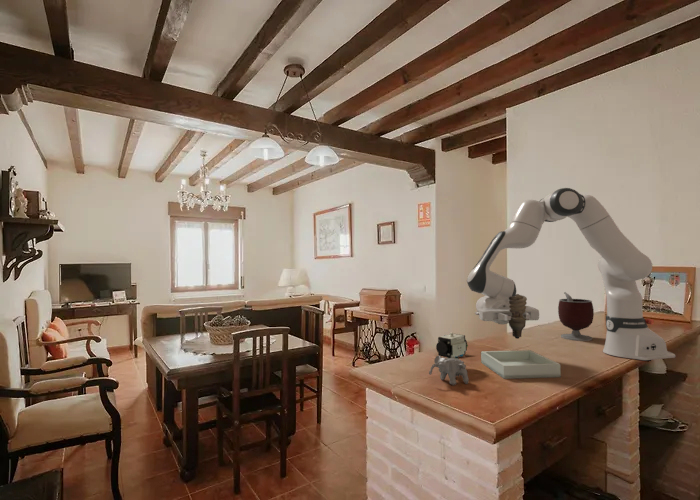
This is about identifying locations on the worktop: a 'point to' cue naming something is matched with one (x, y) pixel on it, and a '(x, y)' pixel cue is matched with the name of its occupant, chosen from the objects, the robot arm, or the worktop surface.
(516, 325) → the light bulb
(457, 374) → the gray elephant figurine
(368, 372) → the worktop surface
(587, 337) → the mate gourd
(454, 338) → the pneumatic valve
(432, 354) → the worktop surface
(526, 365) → the tray
